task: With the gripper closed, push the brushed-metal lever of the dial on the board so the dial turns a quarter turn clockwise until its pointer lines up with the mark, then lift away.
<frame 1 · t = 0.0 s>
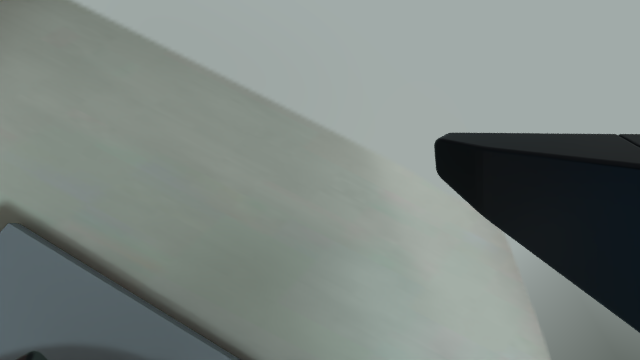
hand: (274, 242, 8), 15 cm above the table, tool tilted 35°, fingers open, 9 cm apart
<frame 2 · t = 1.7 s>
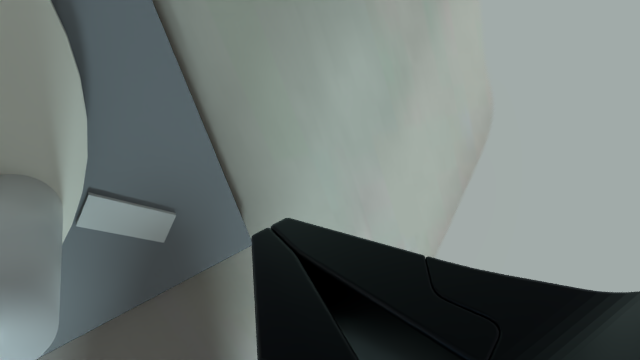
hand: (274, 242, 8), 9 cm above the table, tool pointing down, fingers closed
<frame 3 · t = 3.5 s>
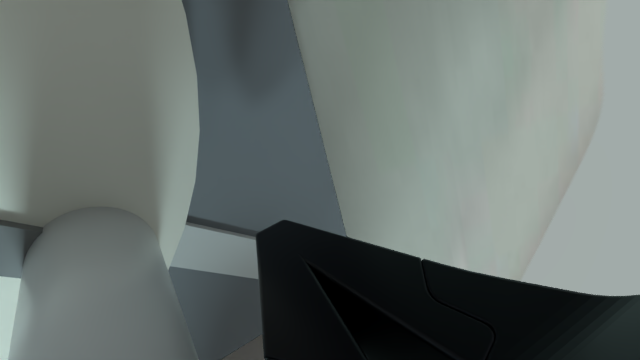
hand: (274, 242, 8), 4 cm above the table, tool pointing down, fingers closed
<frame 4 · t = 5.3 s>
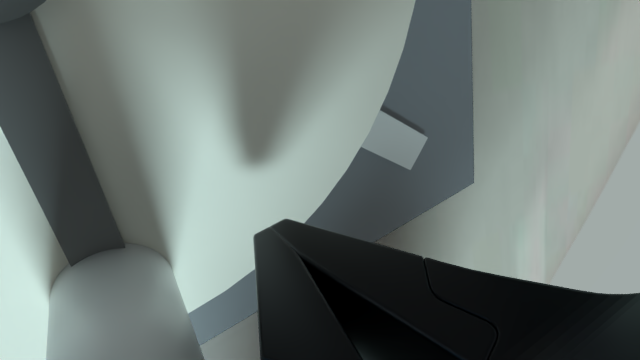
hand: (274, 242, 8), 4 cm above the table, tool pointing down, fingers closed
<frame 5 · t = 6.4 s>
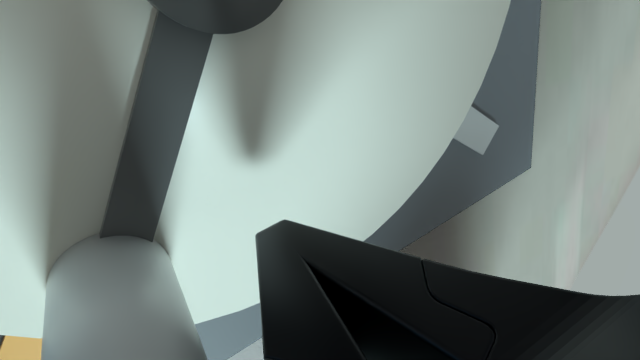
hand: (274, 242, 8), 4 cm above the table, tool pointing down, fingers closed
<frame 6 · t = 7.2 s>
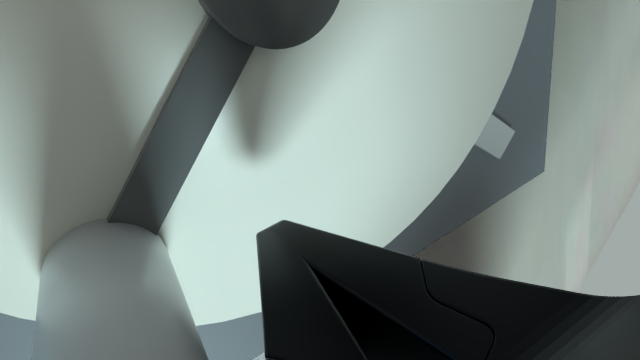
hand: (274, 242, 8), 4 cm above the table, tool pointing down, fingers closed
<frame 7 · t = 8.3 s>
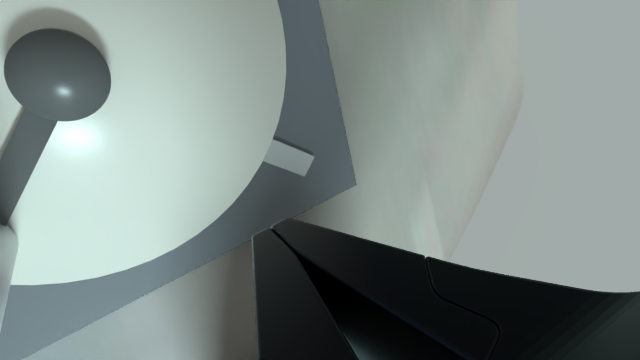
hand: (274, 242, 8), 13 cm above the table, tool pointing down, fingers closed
dial board: (62, 63, 16), on the table
dial: (59, 85, 12), point 4 cm above the table, hinge at 94.1°
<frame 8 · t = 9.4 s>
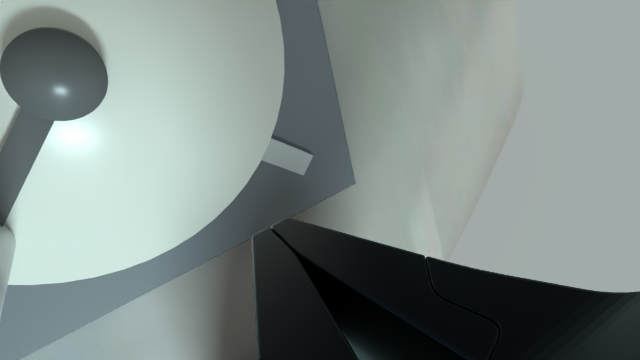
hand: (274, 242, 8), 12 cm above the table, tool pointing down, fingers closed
dial board: (59, 62, 16), on the table
dial: (55, 85, 12), point 4 cm above the table, hinge at 94.1°
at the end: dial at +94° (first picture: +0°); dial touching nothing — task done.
